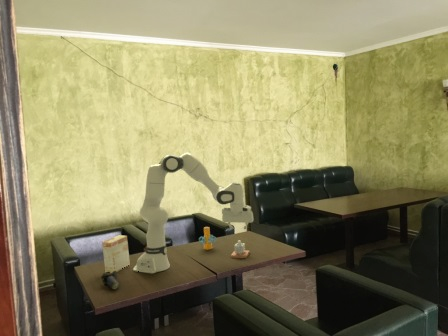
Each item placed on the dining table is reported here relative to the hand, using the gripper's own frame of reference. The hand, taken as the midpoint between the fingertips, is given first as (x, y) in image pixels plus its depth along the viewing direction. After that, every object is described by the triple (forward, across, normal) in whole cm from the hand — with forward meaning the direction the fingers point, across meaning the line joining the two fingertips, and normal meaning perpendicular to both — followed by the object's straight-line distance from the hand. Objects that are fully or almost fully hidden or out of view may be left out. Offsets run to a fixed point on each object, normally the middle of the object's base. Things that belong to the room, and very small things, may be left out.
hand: (238, 228), depth 238 cm
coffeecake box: (+19, -72, -30) cm, 80 cm away
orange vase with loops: (+18, -26, +12) cm, 34 cm away
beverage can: (+20, -59, -54) cm, 83 cm away
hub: (+15, 0, 0) cm, 15 cm away
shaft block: (+18, 0, +1) cm, 18 cm away
